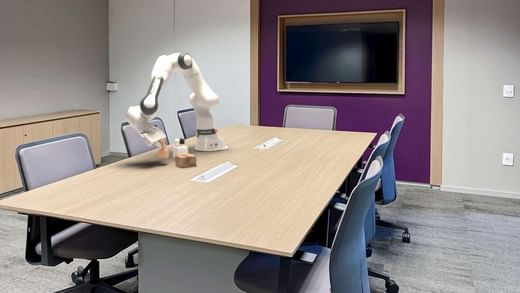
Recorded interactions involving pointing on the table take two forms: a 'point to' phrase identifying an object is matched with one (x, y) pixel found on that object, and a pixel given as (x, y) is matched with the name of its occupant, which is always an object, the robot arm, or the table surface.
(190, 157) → the walnut block
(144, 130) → the robot arm
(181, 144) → the medicine bottle
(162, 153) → the vase
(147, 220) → the table surface
